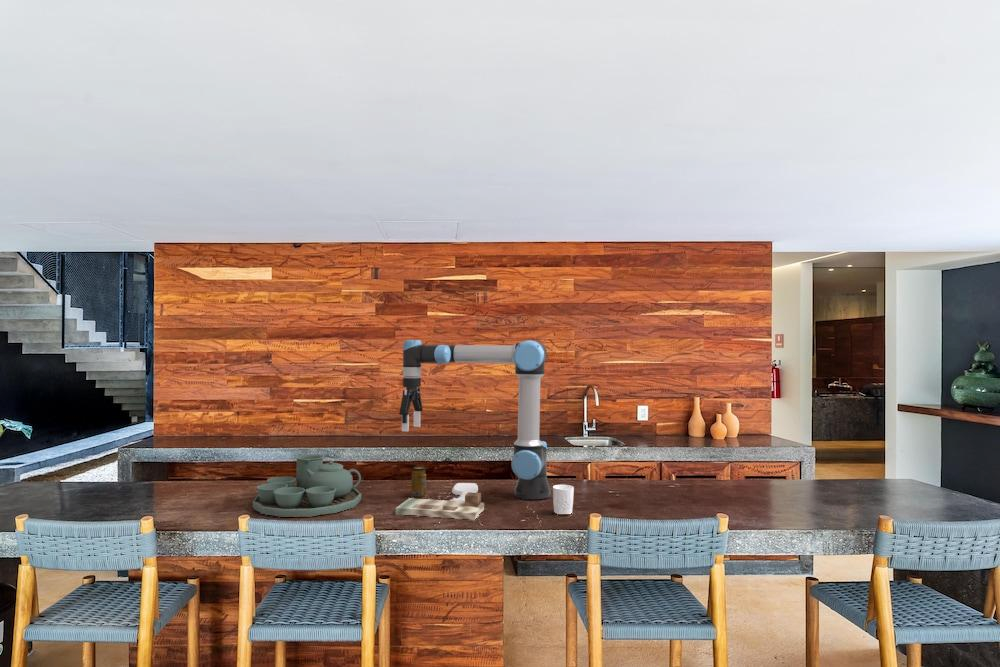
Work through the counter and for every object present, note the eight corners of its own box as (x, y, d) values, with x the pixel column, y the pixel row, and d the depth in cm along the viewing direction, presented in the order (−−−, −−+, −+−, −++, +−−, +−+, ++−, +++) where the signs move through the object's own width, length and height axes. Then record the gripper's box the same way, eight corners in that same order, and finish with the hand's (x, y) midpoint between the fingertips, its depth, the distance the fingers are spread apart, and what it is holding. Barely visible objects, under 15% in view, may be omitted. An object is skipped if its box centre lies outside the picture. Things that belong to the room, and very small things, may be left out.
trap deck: (484, 509, 234) (484, 502, 234) (475, 520, 219) (475, 513, 219) (409, 504, 240) (409, 498, 240) (395, 514, 225) (395, 508, 225)
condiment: (421, 494, 257) (421, 465, 258) (432, 498, 251) (432, 468, 251) (406, 496, 253) (406, 467, 253) (417, 500, 246) (417, 470, 246)
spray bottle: (479, 489, 267) (473, 505, 243) (454, 489, 268) (446, 504, 243) (479, 483, 267) (473, 498, 243) (454, 482, 268) (446, 497, 243)
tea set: (234, 505, 237) (235, 462, 238) (326, 488, 267) (327, 450, 267) (285, 526, 210) (286, 478, 211) (381, 505, 240) (382, 462, 240)
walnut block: (480, 503, 233) (480, 493, 233) (477, 507, 228) (477, 496, 228) (468, 502, 234) (468, 492, 234) (464, 506, 229) (464, 495, 229)
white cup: (568, 518, 224) (568, 490, 224) (548, 514, 228) (549, 487, 228) (577, 513, 231) (577, 486, 231) (558, 509, 235) (558, 483, 235)
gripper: (413, 375, 266) (413, 424, 265) (391, 378, 241) (390, 432, 241) (430, 376, 264) (429, 425, 264) (409, 379, 240) (408, 433, 239)
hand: (411, 429), depth 252 cm, fingers open, 13 cm apart
